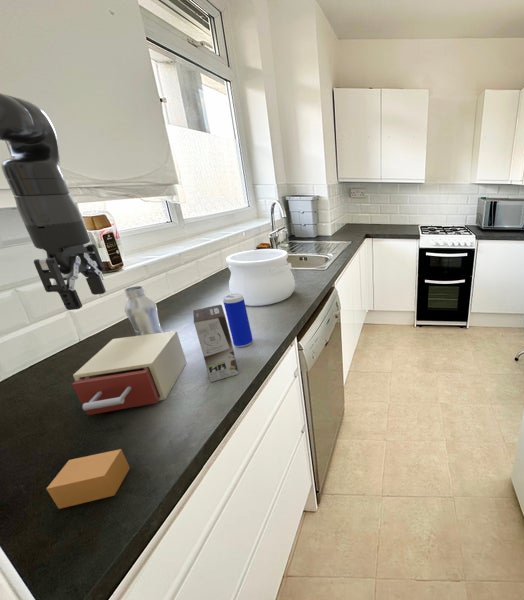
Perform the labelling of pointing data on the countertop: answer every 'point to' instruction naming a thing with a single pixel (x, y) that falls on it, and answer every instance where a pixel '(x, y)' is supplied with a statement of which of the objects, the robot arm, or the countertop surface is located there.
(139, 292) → the plastic bottle
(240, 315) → the beverage can
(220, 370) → the coffee box
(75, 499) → the orange rectangular block
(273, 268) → the pot
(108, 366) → the cabinet
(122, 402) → the drawer
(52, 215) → the robot arm
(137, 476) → the countertop surface
